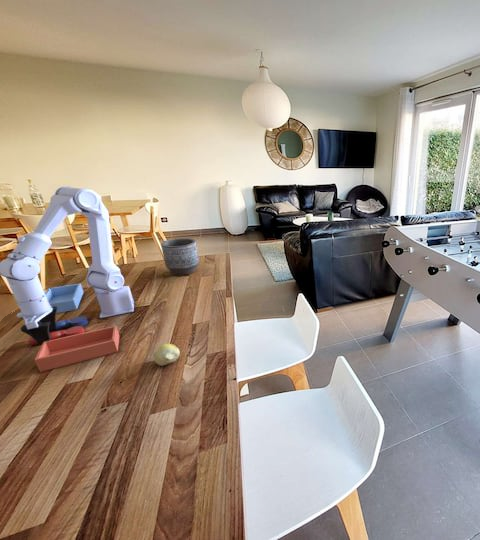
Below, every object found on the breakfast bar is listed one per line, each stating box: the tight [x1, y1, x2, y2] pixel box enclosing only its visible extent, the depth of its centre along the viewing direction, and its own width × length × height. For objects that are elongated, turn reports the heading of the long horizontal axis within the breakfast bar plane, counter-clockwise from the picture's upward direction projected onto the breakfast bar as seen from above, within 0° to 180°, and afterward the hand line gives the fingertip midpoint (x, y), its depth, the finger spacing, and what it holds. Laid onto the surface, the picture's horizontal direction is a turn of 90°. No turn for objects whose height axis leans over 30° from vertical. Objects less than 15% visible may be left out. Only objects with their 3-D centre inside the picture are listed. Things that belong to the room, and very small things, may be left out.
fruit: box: [153, 343, 181, 366], centre depth 82 cm, size 6×6×10 cm
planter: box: [160, 237, 200, 276], centre depth 138 cm, size 14×14×15 cm
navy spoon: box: [55, 315, 89, 331], centre depth 94 cm, size 12×4×3 cm, turn 125°
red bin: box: [34, 325, 120, 373], centre depth 83 cm, size 16×9×4 cm, turn 125°
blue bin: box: [45, 283, 84, 314], centre depth 108 cm, size 16×9×4 cm, turn 35°
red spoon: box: [27, 326, 86, 346], centre depth 89 cm, size 12×4×3 cm, turn 125°
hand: (48, 337), depth 88 cm, fingers open, 7 cm apart
